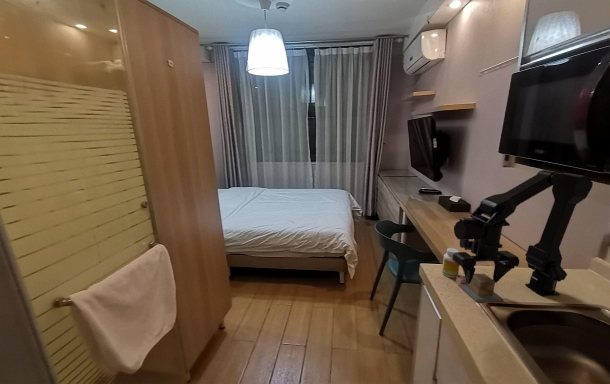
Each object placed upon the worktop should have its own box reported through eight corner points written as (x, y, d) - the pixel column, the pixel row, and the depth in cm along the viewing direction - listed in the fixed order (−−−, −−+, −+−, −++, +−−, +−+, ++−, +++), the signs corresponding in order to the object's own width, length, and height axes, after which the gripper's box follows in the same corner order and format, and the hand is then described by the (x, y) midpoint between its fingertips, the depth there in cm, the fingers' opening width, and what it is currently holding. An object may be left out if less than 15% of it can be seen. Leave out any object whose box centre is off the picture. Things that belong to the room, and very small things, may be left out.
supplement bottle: (459, 278, 99) (463, 254, 97) (443, 277, 100) (447, 252, 98) (455, 271, 104) (458, 247, 102) (439, 269, 105) (443, 246, 103)
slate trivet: (482, 284, 96) (483, 283, 95) (503, 300, 87) (503, 299, 87) (458, 285, 95) (458, 284, 95) (476, 302, 86) (476, 300, 86)
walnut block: (481, 286, 93) (484, 273, 92) (492, 295, 88) (495, 281, 87) (467, 287, 93) (470, 273, 92) (477, 296, 88) (480, 282, 87)
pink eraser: (468, 280, 99) (468, 275, 98) (472, 283, 97) (473, 278, 96) (455, 282, 98) (456, 277, 97) (460, 285, 96) (460, 280, 95)
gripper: (497, 228, 95) (490, 269, 99) (445, 229, 93) (440, 271, 97) (525, 241, 84) (515, 286, 88) (467, 243, 83) (460, 289, 86)
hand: (481, 282), depth 90 cm, fingers open, 9 cm apart
